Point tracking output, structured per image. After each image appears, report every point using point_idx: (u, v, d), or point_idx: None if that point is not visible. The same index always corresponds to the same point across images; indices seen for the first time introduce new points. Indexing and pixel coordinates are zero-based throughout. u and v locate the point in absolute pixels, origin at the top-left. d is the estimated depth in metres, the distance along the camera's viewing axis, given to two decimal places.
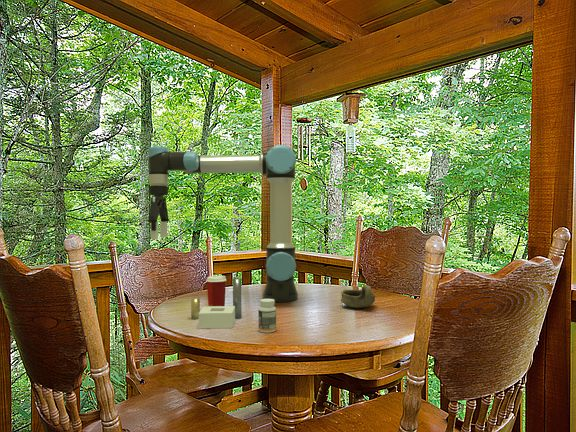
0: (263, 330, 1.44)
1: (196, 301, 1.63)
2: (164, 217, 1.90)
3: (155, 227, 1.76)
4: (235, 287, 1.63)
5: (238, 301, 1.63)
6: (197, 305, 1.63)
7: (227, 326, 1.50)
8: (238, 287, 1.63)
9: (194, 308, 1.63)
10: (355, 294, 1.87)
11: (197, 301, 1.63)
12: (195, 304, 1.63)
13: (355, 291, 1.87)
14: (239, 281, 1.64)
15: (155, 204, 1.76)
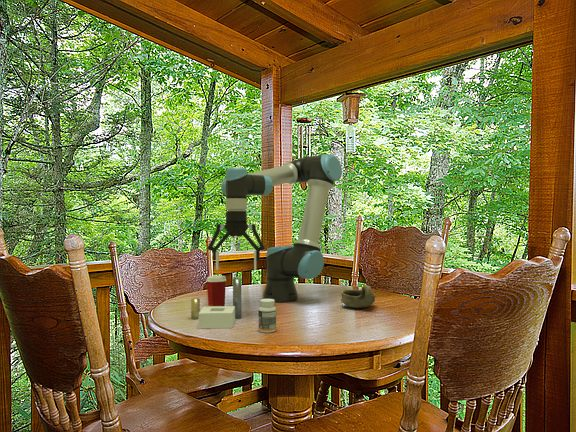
0: (263, 330, 1.44)
1: (196, 301, 1.63)
2: (253, 246, 1.64)
3: (214, 257, 1.63)
4: (235, 287, 1.63)
5: (238, 301, 1.63)
6: (197, 305, 1.63)
7: (227, 326, 1.50)
8: (238, 287, 1.63)
9: (194, 308, 1.63)
10: (355, 294, 1.87)
11: (197, 301, 1.63)
12: (195, 304, 1.63)
13: (355, 291, 1.87)
14: (239, 281, 1.64)
15: (215, 232, 1.63)
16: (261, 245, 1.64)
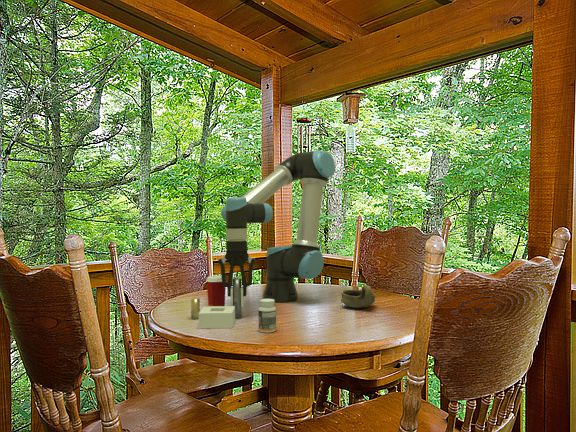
0: (263, 330, 1.44)
1: (196, 301, 1.63)
2: (242, 280, 1.64)
3: (229, 293, 1.64)
4: (235, 287, 1.63)
5: (238, 301, 1.63)
6: (197, 305, 1.63)
7: (227, 326, 1.50)
8: (238, 287, 1.63)
9: (194, 308, 1.63)
10: (355, 294, 1.87)
11: (197, 301, 1.63)
12: (195, 304, 1.63)
13: (355, 291, 1.87)
14: (239, 281, 1.64)
15: None
16: (249, 281, 1.64)
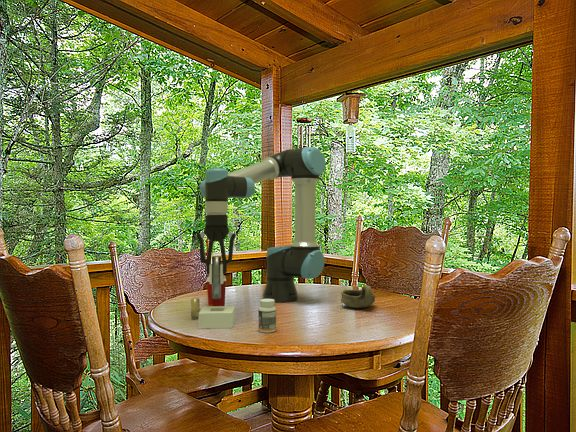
0: (263, 330, 1.44)
1: (196, 301, 1.63)
2: None
3: (208, 270, 1.54)
4: (214, 265, 1.54)
5: (217, 280, 1.54)
6: (197, 305, 1.63)
7: (227, 326, 1.50)
8: (217, 265, 1.54)
9: (194, 308, 1.63)
10: (355, 294, 1.87)
11: (197, 301, 1.63)
12: (195, 304, 1.63)
13: (355, 291, 1.87)
14: (218, 259, 1.54)
15: (199, 243, 1.54)
16: (229, 257, 1.54)
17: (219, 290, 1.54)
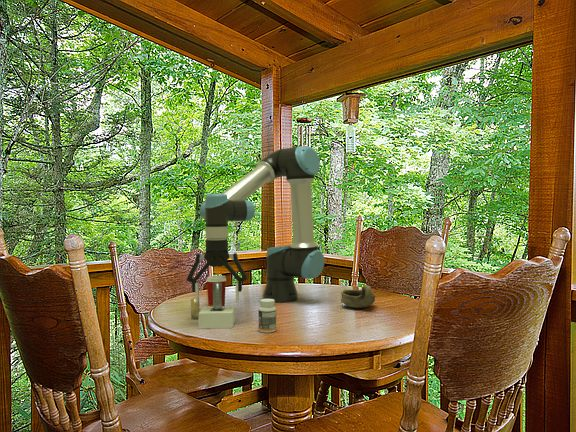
0: (263, 330, 1.44)
1: None
2: None
3: (193, 288, 1.55)
4: (215, 292, 1.54)
5: (218, 307, 1.54)
6: (197, 305, 1.63)
7: (227, 326, 1.50)
8: (218, 292, 1.54)
9: (194, 308, 1.63)
10: (355, 294, 1.87)
11: None
12: (195, 304, 1.63)
13: (355, 291, 1.87)
14: (219, 285, 1.54)
15: None
16: (243, 276, 1.55)
17: None
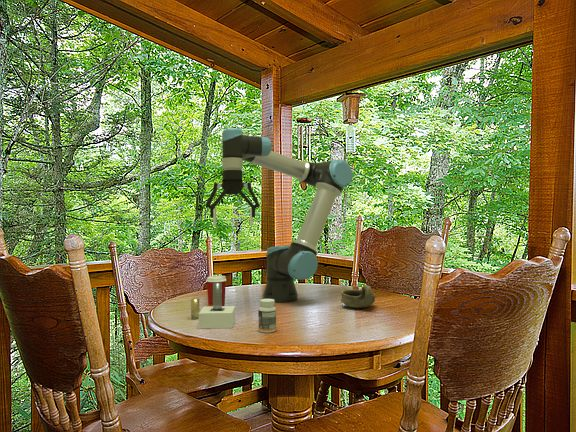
0: (263, 330, 1.44)
1: (195, 301, 1.63)
2: None
3: (212, 214, 1.71)
4: (215, 292, 1.54)
5: (218, 307, 1.54)
6: (196, 305, 1.63)
7: (227, 326, 1.50)
8: (218, 292, 1.54)
9: (194, 308, 1.63)
10: (355, 294, 1.87)
11: (196, 301, 1.63)
12: (195, 304, 1.63)
13: (355, 291, 1.87)
14: (219, 285, 1.54)
15: None
16: (256, 202, 1.71)
17: None
